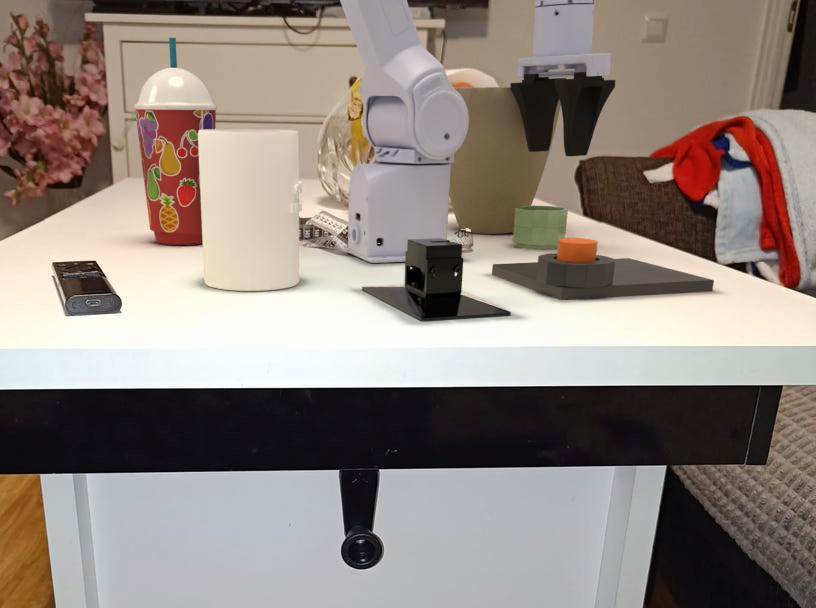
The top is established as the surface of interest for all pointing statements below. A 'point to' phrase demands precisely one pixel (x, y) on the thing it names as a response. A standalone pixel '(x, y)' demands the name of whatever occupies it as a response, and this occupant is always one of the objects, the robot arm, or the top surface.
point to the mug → (250, 208)
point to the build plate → (434, 285)
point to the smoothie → (173, 150)
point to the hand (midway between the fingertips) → (556, 153)
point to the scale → (599, 278)
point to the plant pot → (494, 163)
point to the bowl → (539, 226)
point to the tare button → (577, 250)
